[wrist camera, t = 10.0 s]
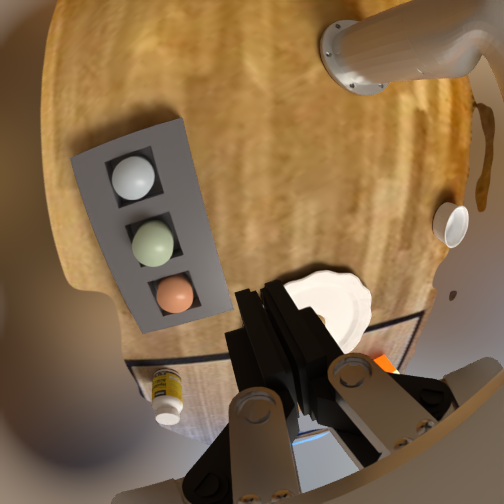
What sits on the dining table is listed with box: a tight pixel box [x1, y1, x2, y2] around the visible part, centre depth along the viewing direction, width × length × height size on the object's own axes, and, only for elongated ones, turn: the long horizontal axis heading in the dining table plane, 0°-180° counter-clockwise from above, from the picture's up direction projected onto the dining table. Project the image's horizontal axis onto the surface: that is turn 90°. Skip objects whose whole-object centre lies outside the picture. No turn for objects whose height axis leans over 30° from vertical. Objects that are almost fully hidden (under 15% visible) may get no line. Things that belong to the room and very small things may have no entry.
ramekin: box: [433, 202, 468, 248], centre depth 45 cm, size 9×9×4 cm
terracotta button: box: [157, 272, 193, 313], centre depth 36 cm, size 5×5×3 cm
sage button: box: [132, 220, 174, 267], centre depth 31 cm, size 5×5×3 cm
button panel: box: [70, 118, 234, 334], centre depth 33 cm, size 14×26×4 cm, turn 11°
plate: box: [262, 270, 372, 354], centre depth 48 cm, size 25×25×2 cm
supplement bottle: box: [152, 369, 183, 425], centre depth 42 cm, size 5×5×10 cm
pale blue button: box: [112, 155, 156, 200], centre depth 29 cm, size 5×5×3 cm
